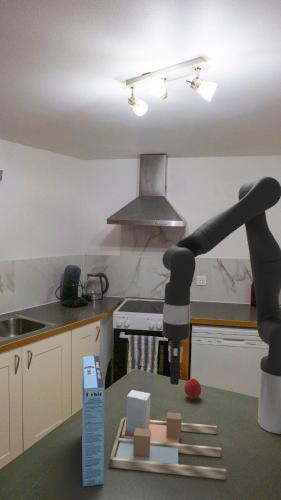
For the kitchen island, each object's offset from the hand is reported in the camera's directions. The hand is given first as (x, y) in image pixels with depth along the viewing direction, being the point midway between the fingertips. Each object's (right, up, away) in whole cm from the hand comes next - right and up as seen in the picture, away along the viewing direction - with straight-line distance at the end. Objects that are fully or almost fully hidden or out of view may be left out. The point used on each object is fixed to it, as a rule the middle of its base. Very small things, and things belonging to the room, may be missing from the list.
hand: (174, 376), depth 91 cm
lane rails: (-2, -18, -3) cm, 18 cm away
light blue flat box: (-22, -18, -7) cm, 29 cm away
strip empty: (-8, -18, -7) cm, 21 cm away
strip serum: (-6, -18, +1) cm, 19 cm away
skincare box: (-10, -18, +2) cm, 21 cm away
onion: (+9, -17, +24) cm, 31 cm away
